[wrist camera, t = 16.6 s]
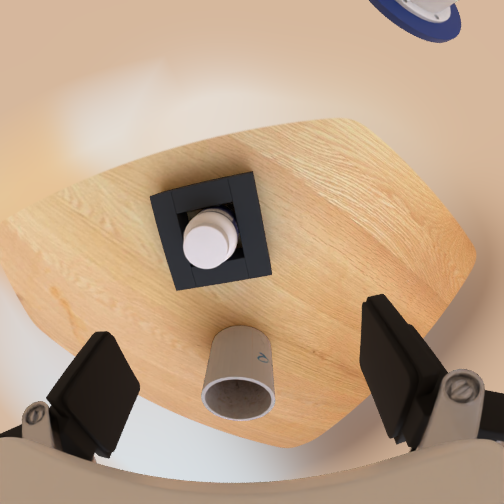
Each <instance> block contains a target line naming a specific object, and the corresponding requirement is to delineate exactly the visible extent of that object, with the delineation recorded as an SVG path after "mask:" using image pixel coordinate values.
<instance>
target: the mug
mask: <svg viewBox="0 0 504 504" xmlns="http://www.w3.org/2000/svg"><path fill="white" fill-rule="evenodd" d="M201 399H202V402H203V404H204V406H205V407H206V408H207V409H208V410H209V411H210V412H212V413H213V414H215V415H217V416H219V417H221V418H224V419H228V420H234V421H247V420H253V419H257V418H260V417H262V416H264V415H266V414H267V413H268V412H269V411H270V410H271V409H272V408H273V406H274V404H275V391H274V378H273V365H272V352H271V344H270V341H269V339H268V338H267V336H266V335H265V334H264V333H262V332H261V331H259V330H257V329H255V328H253V327H249V326H241V325H240V326H232V327H228V328H226V329H223V330H222V331H220V332H219V333H218V334H217V335H216V336H215V338H214V340H213V342H212V346H211V351H210V356H209V361H208V365H207V370H206V375H205V380H204V384H203V389H202V394H201Z"/></svg>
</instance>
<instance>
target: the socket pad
mask: <svg viewBox="0 0 504 504" xmlns="http://www.w3.org/2000/svg"><path fill="white" fill-rule="evenodd" d="M150 200H151V204H152V208H153V212H154V216H155V220H156V224H157V228H158V231H159V235H160V238H161V242H162V245H163V249H164V252H165V256H166V259H167V262H168V266H169V269H170V272H171V275H172V278H173V282H174V285H175V288H176V291H178V290H184V289H191V288H196V287H203V286H209V285H215V284H221V283H227V282H233V281H239V280H245V279H251V278H257V277H262V276H268V275H272V271H271V264H270V258H269V253H268V247H267V242H266V237H265V231H264V226H263V221H262V215H261V210H260V205H259V200H258V195H257V190H256V185H255V180H254V174H253V171H252V172H247V173H242V174H237V175H232V176H227V177H222V178H218V179H213V180H209V181H204V182H200V183H196V184H192V185H188V186H184V187H180V188H176V189H172V190H168V191H164V192H161V193H158V194H155V195H152V196H150ZM232 201H233V205H234V210H235V214H236V219H237V224H238V228H239V233H240V238H241V242H242V247H240V248H235V250H234V252H233V254H232V255H231V256H230V257H229V258H228V259H227V260H226V261H224V262H222V263H221V264H220V265H219V266H217V267H215V268H211V269H202V268H198V267H196V266H194V265H193V264H191V263H190V262H189V261H188V259H187V258H186V256H185V254H184V250H183V243H184V232H185V229H186V227H187V225H188V223H189V220H188V216H187V211H191V210H196V209H200V208H205V207H210V206H214V205H219V204H224V203H229V202H232Z"/></svg>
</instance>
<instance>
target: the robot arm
mask: <svg viewBox="0 0 504 504" xmlns="http://www.w3.org/2000/svg"><path fill="white" fill-rule="evenodd" d="M395 1H396V2H397V3H399V4H400V5H401V6H402V7H404V8H405V9H406V10H408V11H409V12H411V13H412V14H414V15H415V16H417V17H419V18H421V19H423V20H426V21H429V22H433V23H442V22H444V21H446V20H448V18H449V17H450V14H451V10H450V5H452V4H453V3H455V2H457V1H458V0H395ZM360 367H361V370H362V372H363V374H364V377H365V379H366V382H367V384H368V386H369V389H370V391H371V394H372V396H373V399H374V401H375V404H376V406H377V409H378V411H379V414H380V416H381V419H382V422H383V424H384V427H385V429H386V432H387V435H388V436H389V438H394V439H395V442H396V444H399V443H402V442H405V441H406V442H407V445H408V447H411V448H410V451H409V453H407V454H404V455H400V456H397V457H394V458H390V459H387V460H384V461H380V462H376V463H373V464H369V465H366V466H362V467H358V468H354V469H350V470H345V471H341V472H336V473H331V474H326V475H320V476H313V477H307V478H300V479H293V480H283V481H272V482H256V483H211V482H196V481H184V480H175V479H167V478H161V477H153V476H148V475H143V474H138V473H133V472H128V471H124V470H120V469H116V468H112V467H108V466H104V465H101V464H97V463H96V460H95V457H94V453H96V454H97V455H98V456H101V457H105V458H110V455H111V453H112V452H113V451H114V450H115V449H116V446H117V443H118V441H119V438H120V436H121V433H122V431H123V429H124V426H125V424H126V421H127V419H128V416H129V414H130V411H131V409H132V407H133V404H134V402H135V400H136V398H137V396H138V393H139V391H140V384H139V382H138V380H137V378H136V377H135V375H134V373H133V371H132V370H131V368H130V366H129V364H128V363H127V361H126V359H125V357H124V355H123V353H122V351H121V349H120V347H119V345H118V344H117V342H116V340H115V338H114V336H113V335H111V334H110V333H109V332H107V331H104V332H95V333H94V334H93V335H92V336H91V338H90V339H89V340H88V341H87V343H86V344H85V345H84V346H83V348H82V349H81V350H80V352H79V353H78V354H77V356H76V357H75V358H74V360H73V361H72V362H71V364H70V365H69V366H68V368H67V369H66V370H65V372H64V373H63V375H62V376H61V377H60V379H59V380H58V381H57V383H56V384H55V386H54V387H53V389H52V390H51V391H50V393H49V394H48V396H47V397H46V399H47V400H48V401H49V402H50V404H51V407H50V408H49V406H48V405H47V404H46V403H45V402H43V401H38V402H34V403H33V404H31V405H30V406H28V407H27V408H26V410H25V411H24V413H23V416H22V424H21V425H19V426H17V427H15V428H12V429H10V430H8V431H6V432H3V433H1V434H0V504H504V394H503V393H497V392H492V391H487V390H485V389H484V383H483V380H482V379H481V377H479V375H478V374H476V373H475V372H473V371H471V370H467V369H458V370H453V371H451V372H449V373H448V372H447V371H446V369H445V368H444V366H443V365H442V364H441V362H440V361H439V359H438V358H437V357H436V355H435V354H434V353H433V351H432V350H431V349H430V347H429V346H428V345H427V343H426V342H425V341H424V339H423V338H422V337H421V336H420V334H419V333H418V332H417V330H416V329H415V328H414V327H413V326H412V325H410V324H407V322H406V321H405V320H404V318H403V317H402V316H401V315H400V313H399V312H398V311H397V310H396V308H395V307H394V306H393V305H392V303H391V302H390V301H389V300H388V299H387V297H386V296H385V295H384V294H379V295H375V296H371V297H368V298H367V301H366V302H363V304H362V325H361V345H360Z"/></svg>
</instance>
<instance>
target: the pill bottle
mask: <svg viewBox="0 0 504 504" xmlns="http://www.w3.org/2000/svg"><path fill="white" fill-rule="evenodd" d="M238 236H239V228H238V224H237V219H236V214H235V212H234V211H233V210H232V209H231V208H229V207H227V206H225V205H222V204H219V205H214V206H210V207H205V208H204V209H203V210H201V211H200V212H199V213H198V214H197V215H196V216H195V217H194V218H193V219H192V220H191V221H190V222H189V223H188V225H187V227H186V229H185V232H184V243H183V250H184V254H185V256H186V258H187V259H188V261H189V262H190V263H191V264H193V265H194V266H196V267H198V268H202V269H211V268H215V267H217V266H219V265H220V264H221V263H222V262H224V261H226V260H227V259H228V258H229V257H230V256H231V255H232V254H233V252H234V250H235V248H236V245H237V241H238Z"/></svg>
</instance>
